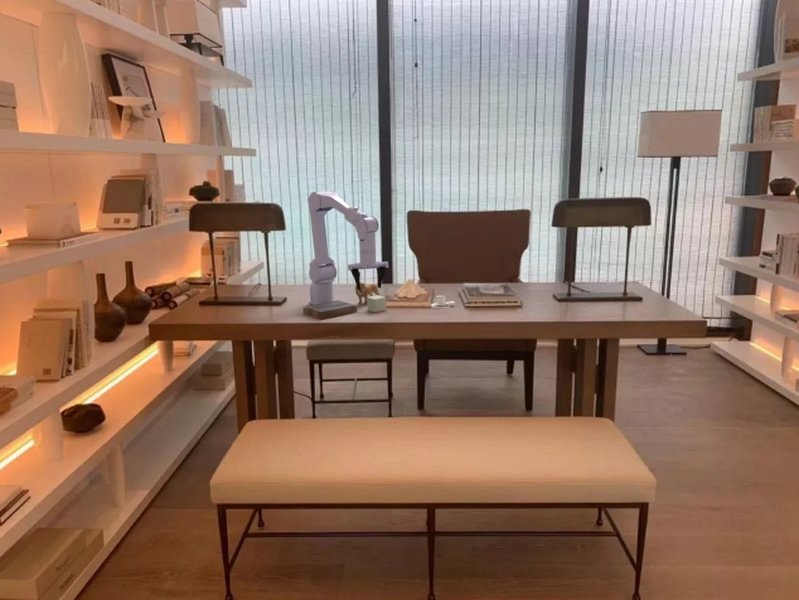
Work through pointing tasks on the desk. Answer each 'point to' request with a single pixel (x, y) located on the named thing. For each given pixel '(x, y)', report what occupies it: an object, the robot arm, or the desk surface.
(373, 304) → the sage block
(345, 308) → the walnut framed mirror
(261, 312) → the desk surface
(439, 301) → the teacup and saucer
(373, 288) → the lion figurine
